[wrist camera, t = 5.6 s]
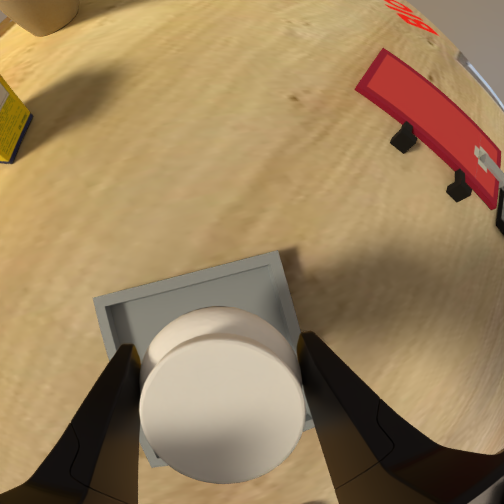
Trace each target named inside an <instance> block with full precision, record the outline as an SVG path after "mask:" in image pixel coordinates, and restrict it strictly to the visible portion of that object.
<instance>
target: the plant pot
mask: <svg viewBox="0 0 504 504" xmlns="http://www.w3.org/2000/svg"><path fill="white" fill-rule="evenodd" d="M78 7H79V0H0V10H1V11H2V12H3V13H4V14H5V15H7V16H8V17H9V18H10V19H11V20H13V21H14V22H15V23H17V24H18V25H19V26H21V27H22V28H24V29H25V30H27V31H28V32H30V33H32V34H33V35H35V36H38V37H41V36H46V35H49V34H51V33H53V32H55V31H57V30H59V29H61V28H62V27H64V26H65V25H67V24H68V23H69V22H70V21H71V20H72V19H73V18H74V17H75V16H76V14H77V12H78Z"/></svg>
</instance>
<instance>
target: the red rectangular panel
mask: <svg viewBox="0 0 504 504" xmlns="http://www.w3.org/2000/svg"><path fill="white" fill-rule="evenodd" d="M354 90H356V91H357V92H359V93H360V94H362V95H363V96H365V97H366V98H367V99H369V100H370V101H372V102H373V103H374V104H376V105H377V106H378V107H380V108H381V109H383V110H384V111H385V112H387V113H388V114H389V115H390V116H392V117H393V118H394V119H396V120H397V121H398V122H399V123H401V124H402V127H401V129H400V130H399V131H398V132H397V133H396V134H395V135H394V136H393V137H392V139H391V141H390V143H391V144H392V145H393V146H394V147H396V148H397V149H398V150H399V151H401V152H402V153H403V154H404V153H405V152H406V151H407V150H409V149H410V148H411V147H412V146H413V145H414V144H416V141H417V137H418V138H419V139H420V140H421V141H422V142H423V143H425V144H426V145H427V146H428V147H429V148H430V149H431V150H432V151H433V152H435V153H436V154H437V155H438V156H439V157H440V158H441V159H442V160H443V161H444V162H445V163H447V164H448V165H449V166H450V167H451V168H452V169H453V170H454V171H455V182H454V183H452V184H450V185H449V186H448V187H447V190H446V193H447V194H448V195H450V196H451V197H452V198H453V199H454V200H455V201H456V202H459V201H461V200H463V199H465V198H467V197H469V196H470V195H471V192H472V189H473V190H474V192H475V193H476V194H477V195H478V196H479V197H480V198H481V199H482V200H483V201H484V202H485V204H486V205H487V206H488V207H489V208H490V209H491V210H493V209H495V208H496V207H497V199H498V190H499V188H501V190H500V200H499V208H498V215H497V222H496V226H497V227H498V228H499V229H500V231H501V232H502V233H503V234H504V173H503V172H502V171H501V169H500V166H501V151H500V150H499V148H498V147H497V146H496V145H495V144H494V143H493V142H492V141H491V139H490V138H489V137H488V136H487V135H486V134H485V133H484V132H483V131H482V130H481V129H480V128H479V127H478V126H477V125H476V123H475V122H474V121H473V120H472V119H471V118H470V117H469V116H467V115H466V114H465V113H464V112H463V111H462V110H461V109H460V108H459V107H458V106H457V105H456V104H455V103H454V102H453V101H452V100H450V99H449V98H448V97H447V96H446V95H445V94H444V93H442V92H441V91H440V90H439V89H438V88H437V87H435V86H434V85H433V84H432V83H431V82H429V81H428V80H427V79H426V78H424V77H423V76H422V75H421V74H419V73H418V72H417V71H415V70H414V69H413V68H411V67H410V66H409V65H407V64H406V63H405V62H403V61H402V60H400V59H399V58H398V57H396V56H395V55H393V54H392V53H390V52H389V51H387V50H386V49H384V48H382V50H381V51H380V53H379V54H378V56H377V57H376V59H375V60H374V61H373V63H372V64H371V66H370V67H369V69H368V70H367V72H366V73H365V75H364V76H363V77H362V79H361V80H360V82H359V83H358V85H357V86H356V88H355V89H354ZM412 133H413V134H414V135H413V134H412ZM479 157H480V159H479ZM471 188H472V189H471Z"/></svg>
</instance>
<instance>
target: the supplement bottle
mask: <svg viewBox="0 0 504 504" xmlns="http://www.w3.org/2000/svg"><path fill="white" fill-rule="evenodd" d="M139 386H140V394H141V398H140V407H139V413H140V420H141V425H142V429H143V432H144V434H145V437H146V439H147V441H148V442H149V444H150V445H151V447H152V448H153V450H154V451H155V453H156V454H157V455H158V456H159V457H160V458H161V459H162V460H163V461H164V462H165V463H167V464H168V465H169V466H170V467H172V468H173V469H174V470H176V471H178V472H180V473H181V474H183V475H186V476H188V477H190V478H193V479H196V480H199V481H204V482H209V483H216V484H231V483H240V482H245V481H249V480H252V479H255V478H258V477H260V476H262V475H264V474H266V473H268V472H270V471H271V470H273V469H274V468H276V467H277V466H279V465H280V464H281V463H282V462H283V461H284V460H285V459H287V457H288V456H289V455H290V454H291V453H292V451H293V450H294V449H295V447H296V445H297V443H298V441H299V440H300V437H301V435H302V432H303V429H304V425H305V419H306V405H305V398H304V395H303V391H302V374H301V369H300V365H299V362H298V359H297V357H296V355H295V353H294V351H293V349H292V347H291V346H290V344H289V343H288V341H287V340H286V339H285V338H284V336H283V335H282V334H281V333H280V332H279V331H278V330H277V329H275V328H274V327H273V326H272V325H271V324H269V323H268V322H267V321H265V320H264V319H262V318H260V317H259V316H257V315H255V314H252V313H250V312H247V311H244V310H241V309H238V308H233V307H226V306H212V307H205V308H200V309H196V310H194V311H191V312H188V313H186V314H183V315H181V316H179V317H178V318H177V319H175V320H173V321H172V322H170V323H169V324H168V325H167V326H165V327H164V328H163V329H162V330H161V331H160V332H159V333H158V334H157V335H156V337H155V338H154V339H153V340H152V342H151V343H150V345H149V347H148V349H147V350H146V352H145V355H144V358H143V361H142V364H141V369H140V377H139Z"/></svg>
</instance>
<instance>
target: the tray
mask: <svg viewBox="0 0 504 504" xmlns="http://www.w3.org/2000/svg"><path fill="white" fill-rule="evenodd" d="M93 301H94V305H95V310H96V314H97V318H98V322H99V326H100V330H101V334H102V337H103V341H104V345H105V348H106V351H107V355H108V358H109V361H110V360H111V359H112V357H113V356H114V354H115V353H116V351H117V350H118V348H119V347H120V346H121V344H124V343H132V344H134V345H135V347H136V350H137V352H138V354H139V357H140V361H141V364H142V361H143V358H144V355H145V352H146V350H147V349H148V347H149V345H150V343H151V342H152V340H153V339H154V338H155V337H156V335H157V334H158V333H159V332H160V331H161V330H162V329H163V328H164V327H165V326H167V325H168V324H169V323H170V322H172V321H173V320H175V319H177V318H178V317H179V316H181V315H183V314H186V313H188V312H191V311H194V310H196V309H200V308H205V307H212V306H226V307H233V308H238V309H241V310H244V311H247V312H250V313H252V314H255V315H257V316H259V317H260V318H262V319H264V320H265V321H267V322H268V323H269V324H271V325H272V326H273V327H274V328H275V329H277V330H278V331H279V332H280V333H281V334H282V335H283V336H284V338H285V339H286V340H287V341H288V343H289V344H290V346H291V347H292V349H293V351H294V353H295V355H296V357H297V352H296V347H297V343H298V339H299V335H300V333H301V331H300V327H299V324H298V320H297V316H296V313H295V309H294V305H293V302H292V298H291V295H290V291H289V288H288V284H287V280H286V277H285V273H284V270H283V266H282V263H281V259H280V256H279V253H278V250H277V251H273V252H269V253H266V254H262V255H258V256H254V257H250V258H246V259H243V260H239V261H235V262H231V263H227V264H223V265H219V266H216V267H212V268H208V269H204V270H200V271H196V272H192V273H188V274H185V275H181V276H177V277H173V278H169V279H165V280H161V281H157V282H153V283H149V284H146V285H142V286H138V287H134V288H130V289H126V290H122V291H118V292H114V293H110V294H106V295H102V296H98V297H94V298H93ZM297 359H298V358H297ZM302 391H303V395H304V398H305V405H306V419H305V425H304V429H303V431H306V430H309V429H311V428H314V427H315V425H314V422H313V419H312V416H311V413H310V410H309V407H308V403H307V400H306V397H305V394H304V390H303V385H302ZM139 442H140V444H141V446H142V448H143V451H144V453H145V455H146V457H147V459H148V461H149V463H150V465H151V467H152V468H153V467H161V466H169V465H168V464H167V463H165V462H164V461H163V460H162V459H161V458H160V457H159V456H158V455H157V454H156V453H155V451H154V450H153V448H152V447H151V445H150V444H149V442H148V441H147V439H146V437H145V434H144V432H143V429H142V425H141V421H140V436H139Z"/></svg>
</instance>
